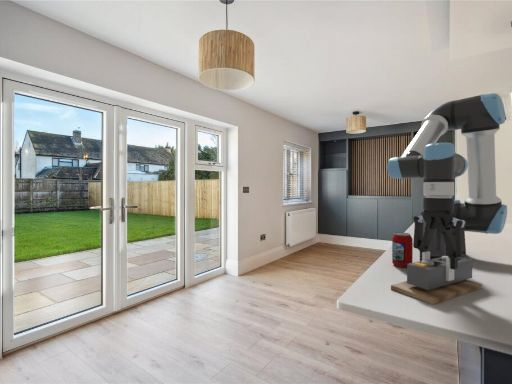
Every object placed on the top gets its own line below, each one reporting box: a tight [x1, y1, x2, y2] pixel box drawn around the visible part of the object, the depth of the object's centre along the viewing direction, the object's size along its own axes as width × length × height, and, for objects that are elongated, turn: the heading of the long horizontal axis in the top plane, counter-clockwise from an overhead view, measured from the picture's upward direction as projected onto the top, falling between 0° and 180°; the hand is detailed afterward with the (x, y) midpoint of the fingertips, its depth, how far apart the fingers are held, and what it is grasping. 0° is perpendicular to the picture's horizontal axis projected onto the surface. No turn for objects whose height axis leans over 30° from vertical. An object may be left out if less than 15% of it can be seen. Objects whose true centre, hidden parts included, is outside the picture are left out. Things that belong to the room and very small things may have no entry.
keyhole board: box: [390, 256, 483, 305], centre depth 82 cm, size 24×12×8 cm, turn 118°
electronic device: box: [420, 210, 446, 259], centre depth 104 cm, size 9×6×20 cm, turn 168°
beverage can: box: [391, 232, 414, 268], centre depth 106 cm, size 7×7×12 cm
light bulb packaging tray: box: [406, 256, 473, 290], centre depth 83 cm, size 22×6×6 cm, turn 118°
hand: (437, 276), depth 82 cm, fingers closed on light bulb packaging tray, 6 cm apart
